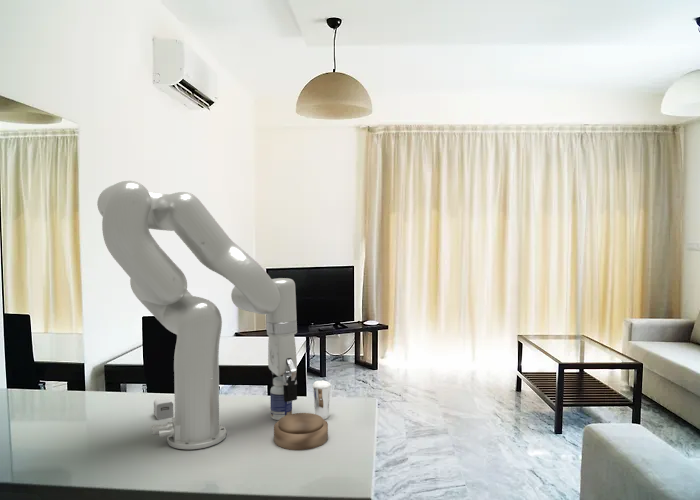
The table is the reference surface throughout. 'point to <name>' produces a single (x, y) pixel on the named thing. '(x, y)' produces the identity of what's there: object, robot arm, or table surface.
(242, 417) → the table surface
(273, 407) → the pill bottle
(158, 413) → the usb wall charger
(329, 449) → the table surface
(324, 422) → the walnut stand
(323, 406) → the milkshake
